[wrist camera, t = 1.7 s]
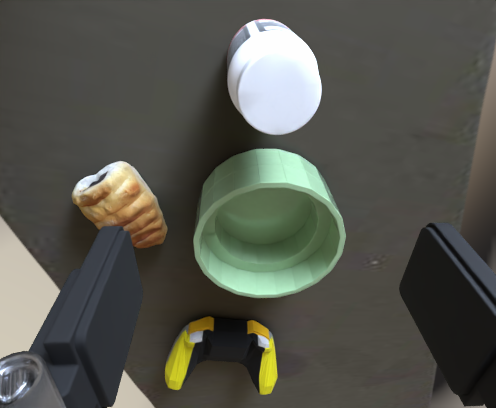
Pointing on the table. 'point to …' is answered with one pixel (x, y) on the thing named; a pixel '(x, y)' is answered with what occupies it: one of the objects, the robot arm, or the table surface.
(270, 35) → the pill bottle
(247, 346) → the gaming controller
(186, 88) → the table surface
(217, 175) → the green bowl
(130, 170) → the pastry
